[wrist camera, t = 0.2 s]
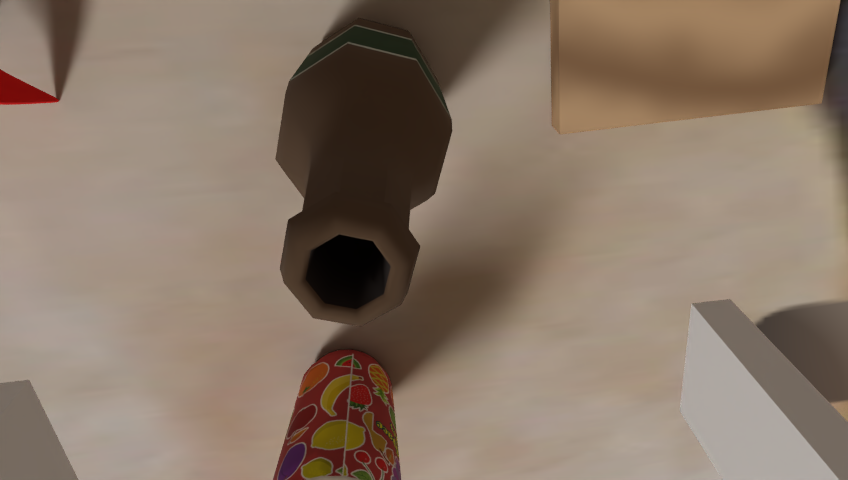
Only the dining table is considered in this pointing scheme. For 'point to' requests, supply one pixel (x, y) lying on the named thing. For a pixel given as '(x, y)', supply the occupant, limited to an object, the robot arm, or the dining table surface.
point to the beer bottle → (359, 169)
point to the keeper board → (684, 59)
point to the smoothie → (342, 423)
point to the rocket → (21, 92)
